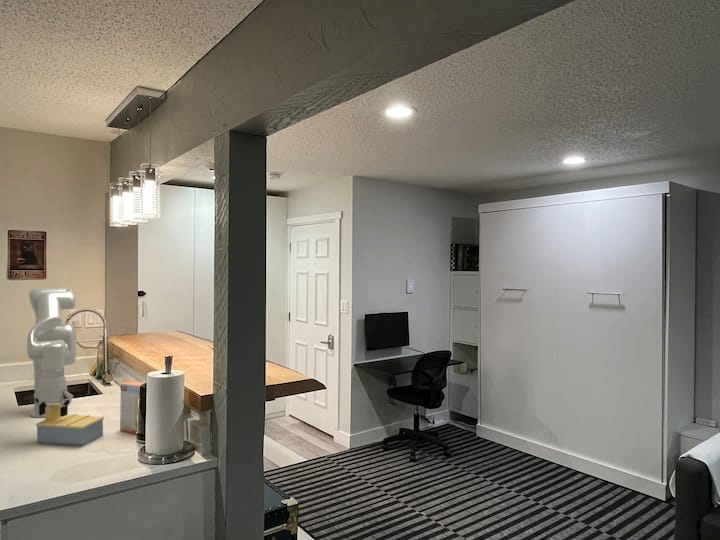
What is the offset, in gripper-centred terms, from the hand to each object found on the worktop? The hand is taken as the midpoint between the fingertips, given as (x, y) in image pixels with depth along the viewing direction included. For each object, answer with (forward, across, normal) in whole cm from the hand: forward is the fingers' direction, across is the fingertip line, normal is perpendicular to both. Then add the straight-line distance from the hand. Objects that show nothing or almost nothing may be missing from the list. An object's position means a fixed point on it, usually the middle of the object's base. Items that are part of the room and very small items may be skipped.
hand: (53, 415), depth 198 cm
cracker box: (+10, +29, +13) cm, 33 cm away
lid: (+2, +8, 0) cm, 8 cm away
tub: (+10, +8, 0) cm, 12 cm away
